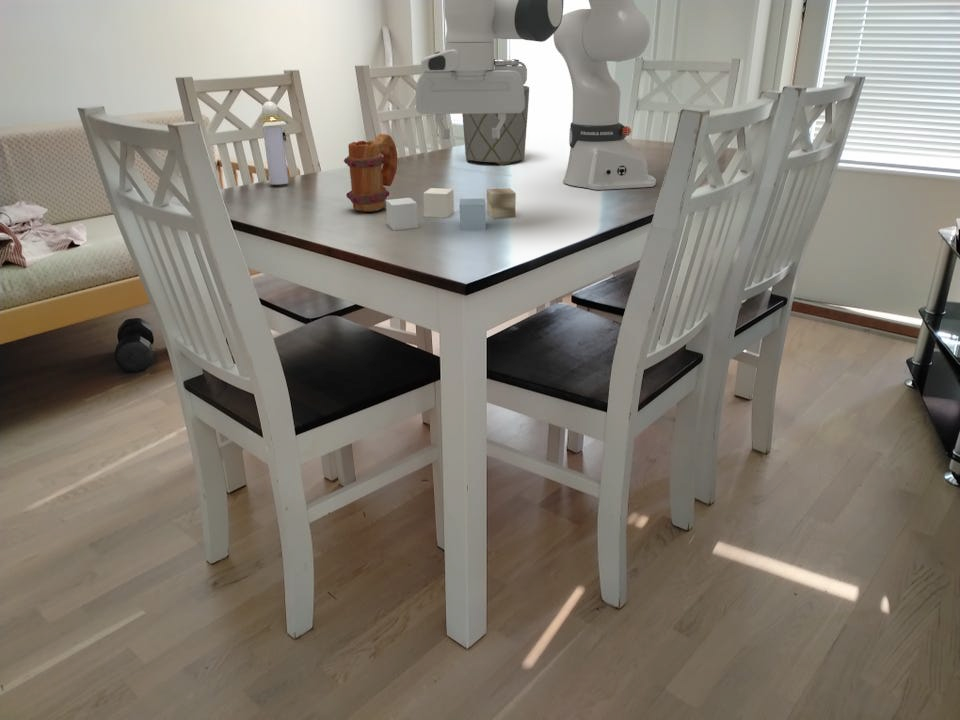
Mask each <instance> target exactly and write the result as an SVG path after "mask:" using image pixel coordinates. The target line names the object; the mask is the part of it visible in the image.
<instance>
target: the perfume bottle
mask: <svg viewBox="0 0 960 720" xmlns="http://www.w3.org/2000/svg"><path fill="white" fill-rule="evenodd" d="M261 111H262V113H263V115H264V116H263V117H258V121H259V122H260V123H277V122H282V121H284V120H285V119H284V117H283V116H277V115H278V113H279V107H278V106H277V104H276V103H275V102H274V101H271V100H269V101H265V102H264V103H263V105H262V107H261ZM262 133H263V141H264V146H265V147H264V148H265V149H264V150H265V155H266V164H267V170H268V178H269V184H270V185H284V184H285V185H286V184H288V183H289V182H290V181H289V174H288V173H289V172H288V165H287V158H286V157H287V155H286V149H285V142H287V135H286V130H285V129H284V130H283V126H282V125H266V126H262Z"/></svg>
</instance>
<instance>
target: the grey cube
mask: <svg viewBox="0 0 960 720" xmlns="http://www.w3.org/2000/svg"><path fill="white" fill-rule="evenodd" d="M385 205H386V207H385V208H386V223H387V226H388V227H390V228H391V230H392V231H400V230H409V229H410V230H411V229H419V217H418V215H419V214H418V213H419V212H418V202H416V201H415V200H414V199H413V198H411V197H404V198H394V199H393V198H392V199H385Z"/></svg>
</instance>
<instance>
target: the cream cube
mask: <svg viewBox="0 0 960 720" xmlns="http://www.w3.org/2000/svg"><path fill="white" fill-rule="evenodd" d="M422 196H423V215H424V217H425V218H443V219H444V218H446V219H448V218H449V217H450V216H452V215H453V214H454V212H455V208H454V207H455V206H454V203H455V202H454V189H453V188H436V187H434V188H433V187H431V188H428V189H427V190H425V191H424V192H423V194H422Z"/></svg>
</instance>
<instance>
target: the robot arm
mask: <svg viewBox="0 0 960 720" xmlns="http://www.w3.org/2000/svg"><path fill="white" fill-rule="evenodd" d="M443 3H444V4H443V8H444V10H443V11H444V19H445V22H446V35H445V39H444V41H445V43H444V50H442V51H436V52H435V53H434V54H431V55H428V56H425V57H423V58H422V60H421V62H420V65H421V70H423V72H422V73H421V74H420V75H419V78H418V80H417V85H416V93H415V110H416V111H417V113H418V114H420V115H435V116H434V117H435V122H436V123H437V125H438V128H439V129H440V130H441V140H450V139H451V138H450V137H451V136H450V133H451V132H450V128H448V127H447V128H446V127H445V125H444V123H443V122H442V121H443V120H444V115H446V114H447V115H450V114H451V115H453V114H456V115H458V114H461V115H462V114H482V113H498V119H499V120H500V121H499V123H498V125H497V127H496V128H492V139H500V129H501V127H502V125H503V124H504V122H505V120H506V113H521V112H522V111H523V110H524V109H525V95H524V87H523V86H525V84H526V82H527V79H528V68H527V65H525V63H524V62H521V61H520V59H517V58H516V59H515V58H514V59H513V58H512V59H498V58H497V59H495V39H497V40H498V39H500V40H524V41H531V42H539V43H541V42H546V41H547V40H549V38H551V37H552V36H553V43H554V46H555V49H556V50H557V51H558V53H559V54H560V55H561V57H562V58H563V60H564V62H565V65H566V66H567V71H568V72H569V77H570V80H571V87H572V122H571V123H570V128H569V136H568V137H569V141H568V143H569V150H570V151H569V154H568V155H569V156H568V162H567V167H566V170H565V171H566V172H565V174H564V178H563V181H562V182H563V183H564V184H566V185H569V186H573V187H579V188H586V189H590V190H595V191H600V190H601V191H603V190H617V189H618V190H620V189H636V188H637V189H638V188H653V187H654V186H656V184H657V179H656V178H655V176H653V175H651V174H648V173H649V172H648V164H647V159H646V157H645V155H644V154H642V152H640V151H639V150H638V149H637V148H636V147H635V146H634V145H632V143H630V142H629V141H628V140H627V139H626V138H627V137H628V136H630V135H631V134H632V128H631V127H629V126H627V125H623V124H622V123H621V122H620V121H619V120H620V108H621V107H620V106H621V105H620V104H621V89H620V86H619V85H618V83H617V82H616V81H615V80H614V79H613V77H612V76H611V73H610V70H609V68H608V62H625V61H628V60H632V59H636V58H639V57H641V55H642V54H643V53H644V52H645V51H646V48H647V47H648V44H649V41H650V39H651V38H650V37H651V36H650V35H651V28H650V24H649V20H648V19H647V17H646V15H644V13H643V12H642V11H640V9H639V8H638V6H637V5H636V3H635V2H634V0H588V3H589V6H590V8H581V9H576V10H573V11H569V12H567V13H564V14H563V12H564V0H444V1H443Z"/></svg>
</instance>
